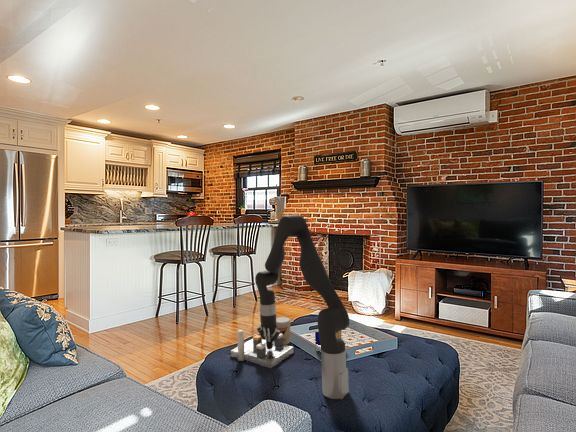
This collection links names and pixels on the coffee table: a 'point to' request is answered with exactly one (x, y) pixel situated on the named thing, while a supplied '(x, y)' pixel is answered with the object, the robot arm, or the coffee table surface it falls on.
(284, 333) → the coffee cup
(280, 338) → the toggle
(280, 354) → the breaker panel
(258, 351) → the toggle
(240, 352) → the post
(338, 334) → the puzzle cube
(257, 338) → the toggle
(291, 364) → the coffee table surface
